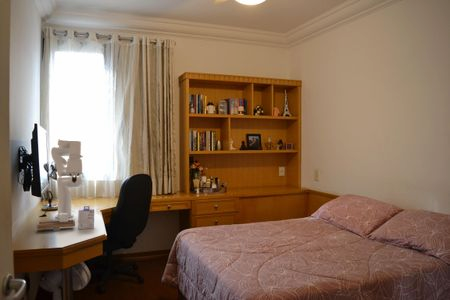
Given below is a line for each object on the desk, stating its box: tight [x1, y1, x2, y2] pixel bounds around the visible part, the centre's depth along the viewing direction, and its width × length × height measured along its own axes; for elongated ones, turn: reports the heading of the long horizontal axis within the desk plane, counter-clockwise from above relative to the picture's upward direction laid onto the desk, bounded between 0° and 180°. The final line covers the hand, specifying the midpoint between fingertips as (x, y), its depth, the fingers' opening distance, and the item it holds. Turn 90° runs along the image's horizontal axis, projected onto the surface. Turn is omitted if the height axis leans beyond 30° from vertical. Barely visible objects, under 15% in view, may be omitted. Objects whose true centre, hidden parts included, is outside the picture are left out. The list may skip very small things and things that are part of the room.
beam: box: [36, 219, 76, 232], centre depth 223 cm, size 9×22×5 cm, turn 117°
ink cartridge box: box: [77, 205, 95, 230], centre depth 229 cm, size 10×6×14 cm, turn 109°
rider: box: [59, 213, 69, 223], centre depth 225 cm, size 4×5×6 cm
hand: (74, 182), depth 243 cm, fingers closed
